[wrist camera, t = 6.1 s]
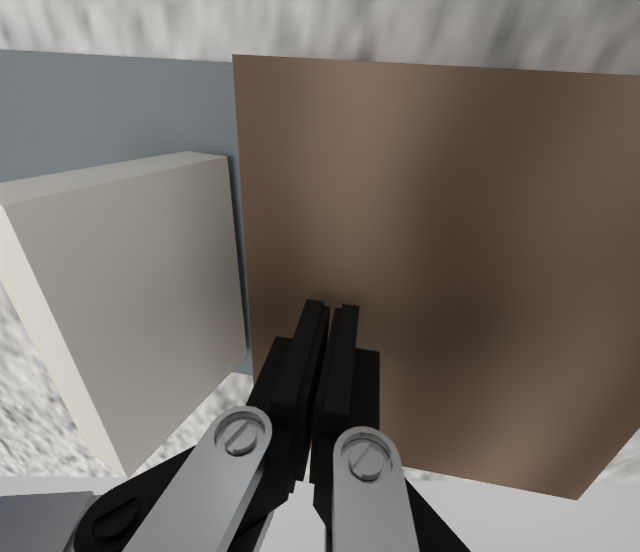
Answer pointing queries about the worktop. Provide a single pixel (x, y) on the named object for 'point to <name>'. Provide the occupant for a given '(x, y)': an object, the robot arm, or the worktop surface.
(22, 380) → the worktop surface
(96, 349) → the cream rectangular block
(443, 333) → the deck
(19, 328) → the worktop surface
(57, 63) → the mat
